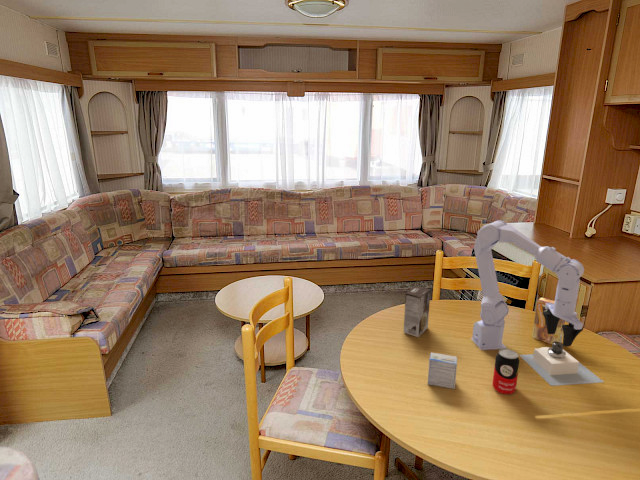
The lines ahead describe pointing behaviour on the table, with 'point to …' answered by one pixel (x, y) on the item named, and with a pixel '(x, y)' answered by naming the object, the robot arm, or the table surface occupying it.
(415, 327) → the coffee box
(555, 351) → the plunger
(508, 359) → the beverage can
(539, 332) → the candy box
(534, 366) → the board
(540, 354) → the box
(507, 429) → the table surface
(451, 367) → the medicine box
